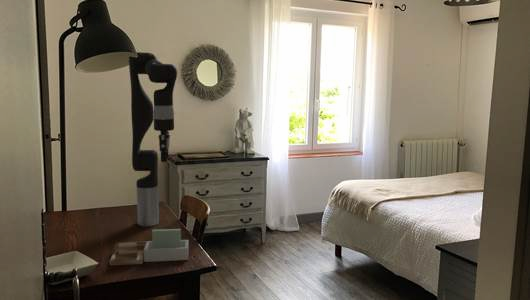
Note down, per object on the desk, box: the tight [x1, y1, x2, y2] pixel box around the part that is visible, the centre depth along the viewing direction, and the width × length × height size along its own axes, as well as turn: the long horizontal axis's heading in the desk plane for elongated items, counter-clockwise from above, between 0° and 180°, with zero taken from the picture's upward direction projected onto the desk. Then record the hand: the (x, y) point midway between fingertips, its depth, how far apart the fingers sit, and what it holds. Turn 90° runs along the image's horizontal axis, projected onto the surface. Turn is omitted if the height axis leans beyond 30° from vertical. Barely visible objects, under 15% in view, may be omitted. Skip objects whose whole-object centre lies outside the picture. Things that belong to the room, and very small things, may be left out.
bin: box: [143, 239, 190, 263], centre depth 170 cm, size 9×15×4 cm, turn 98°
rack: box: [108, 241, 147, 266], centre depth 168 cm, size 14×11×4 cm
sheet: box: [151, 228, 182, 249], centre depth 170 cm, size 2×10×9 cm, turn 97°
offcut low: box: [115, 249, 138, 261], centre depth 163 cm, size 4×7×2 cm, turn 98°
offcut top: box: [119, 241, 138, 254], centre depth 163 cm, size 4×6×2 cm, turn 106°
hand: (164, 160), depth 179 cm, fingers open, 8 cm apart
